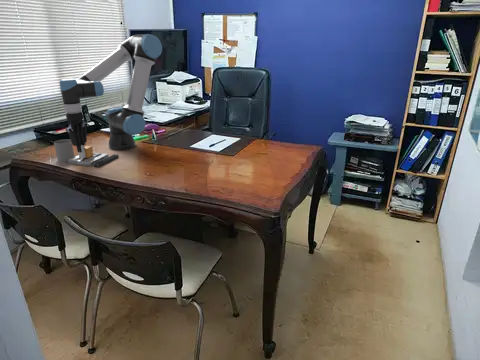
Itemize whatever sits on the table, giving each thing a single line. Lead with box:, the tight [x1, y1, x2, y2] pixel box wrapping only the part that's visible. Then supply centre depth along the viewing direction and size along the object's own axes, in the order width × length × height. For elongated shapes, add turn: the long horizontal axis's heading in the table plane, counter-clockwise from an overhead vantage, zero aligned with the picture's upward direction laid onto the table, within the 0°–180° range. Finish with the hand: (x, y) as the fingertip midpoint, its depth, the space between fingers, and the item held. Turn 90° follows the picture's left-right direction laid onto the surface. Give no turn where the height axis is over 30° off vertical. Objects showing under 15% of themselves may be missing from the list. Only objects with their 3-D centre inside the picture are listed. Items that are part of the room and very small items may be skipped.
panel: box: [67, 151, 110, 167], centre depth 181 cm, size 14×14×3 cm
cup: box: [53, 138, 76, 163], centre depth 181 cm, size 8×8×10 cm
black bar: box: [93, 153, 119, 168], centre depth 179 cm, size 17×3×2 cm, turn 163°
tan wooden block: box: [84, 145, 94, 158], centre depth 180 cm, size 4×4×5 cm
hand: (82, 157), depth 177 cm, fingers closed
